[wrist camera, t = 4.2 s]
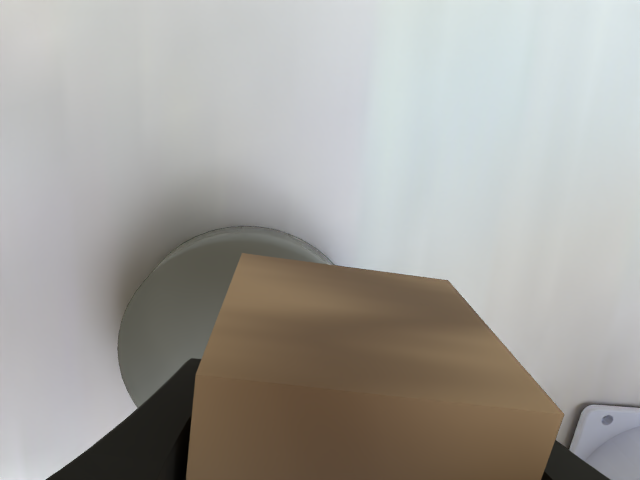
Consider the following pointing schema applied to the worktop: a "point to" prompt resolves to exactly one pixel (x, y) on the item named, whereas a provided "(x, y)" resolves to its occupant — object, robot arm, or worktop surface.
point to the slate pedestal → (190, 301)
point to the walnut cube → (360, 383)
